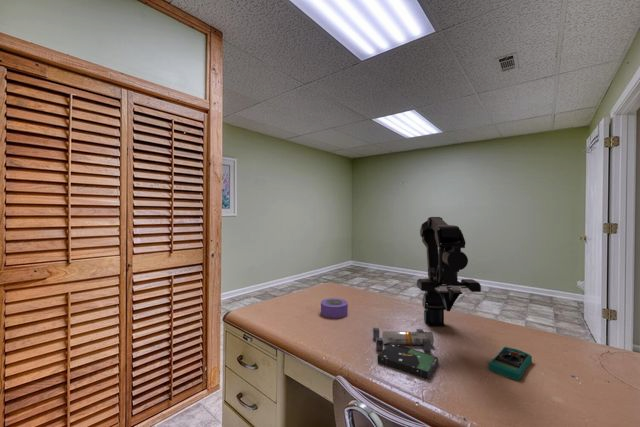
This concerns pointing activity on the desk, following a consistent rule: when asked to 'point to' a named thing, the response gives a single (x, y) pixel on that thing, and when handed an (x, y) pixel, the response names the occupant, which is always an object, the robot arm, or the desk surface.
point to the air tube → (406, 337)
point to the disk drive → (408, 360)
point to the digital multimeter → (510, 363)
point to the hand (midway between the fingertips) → (447, 311)
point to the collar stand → (380, 341)
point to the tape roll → (334, 308)
